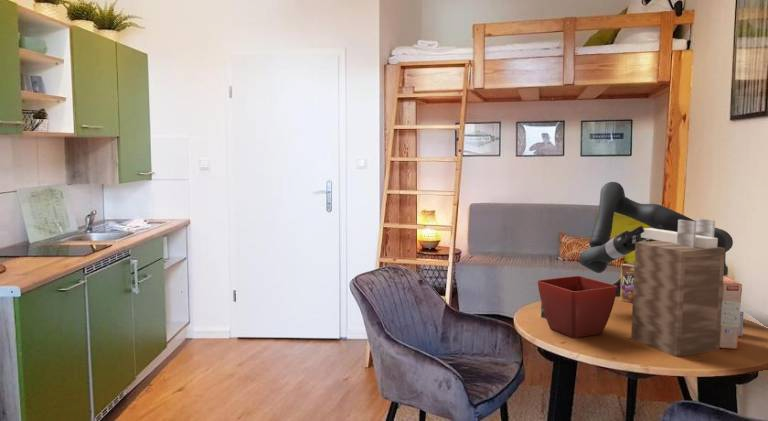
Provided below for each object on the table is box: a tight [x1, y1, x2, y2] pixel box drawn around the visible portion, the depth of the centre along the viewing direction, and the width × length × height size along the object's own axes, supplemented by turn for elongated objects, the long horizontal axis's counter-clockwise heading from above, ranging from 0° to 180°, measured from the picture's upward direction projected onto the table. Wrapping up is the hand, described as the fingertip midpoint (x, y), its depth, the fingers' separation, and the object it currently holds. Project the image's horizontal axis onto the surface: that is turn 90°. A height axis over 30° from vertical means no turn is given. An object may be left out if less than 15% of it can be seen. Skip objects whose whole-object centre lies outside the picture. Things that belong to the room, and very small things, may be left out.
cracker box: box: [719, 276, 743, 350], centre depth 187 cm, size 14×6×21 cm, turn 170°
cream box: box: [641, 227, 718, 249], centre depth 189 cm, size 26×4×3 cm, turn 21°
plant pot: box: [537, 275, 618, 338], centre depth 198 cm, size 19×19×17 cm
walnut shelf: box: [630, 218, 726, 357], centre depth 184 cm, size 18×18×40 cm
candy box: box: [619, 263, 635, 304], centre depth 238 cm, size 9×4×15 cm, turn 35°
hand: (652, 228), depth 198 cm, fingers open, 8 cm apart
